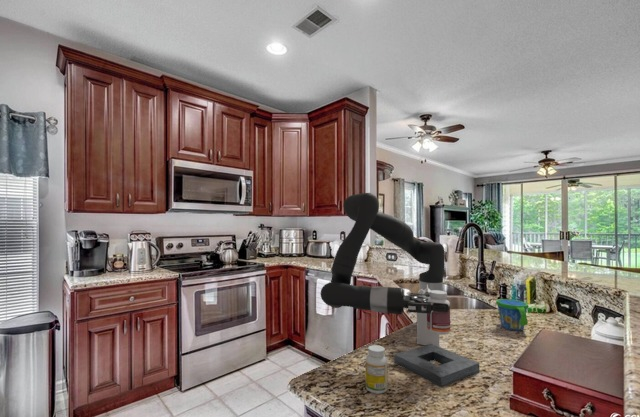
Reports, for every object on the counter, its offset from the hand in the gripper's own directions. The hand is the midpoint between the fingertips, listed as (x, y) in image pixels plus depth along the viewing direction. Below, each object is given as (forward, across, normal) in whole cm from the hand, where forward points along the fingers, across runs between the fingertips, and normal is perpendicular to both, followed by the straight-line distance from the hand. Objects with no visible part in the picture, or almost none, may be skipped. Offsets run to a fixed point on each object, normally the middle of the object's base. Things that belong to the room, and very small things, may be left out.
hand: (447, 305), depth 87 cm
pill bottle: (-2, 0, +8) cm, 8 cm away
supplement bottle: (-17, -17, +18) cm, 30 cm away
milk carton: (-5, +20, +18) cm, 27 cm away
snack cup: (+27, +47, +18) cm, 57 cm away
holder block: (-3, 0, +18) cm, 18 cm away
